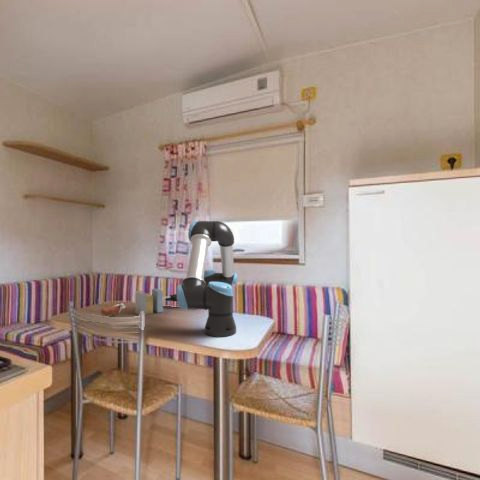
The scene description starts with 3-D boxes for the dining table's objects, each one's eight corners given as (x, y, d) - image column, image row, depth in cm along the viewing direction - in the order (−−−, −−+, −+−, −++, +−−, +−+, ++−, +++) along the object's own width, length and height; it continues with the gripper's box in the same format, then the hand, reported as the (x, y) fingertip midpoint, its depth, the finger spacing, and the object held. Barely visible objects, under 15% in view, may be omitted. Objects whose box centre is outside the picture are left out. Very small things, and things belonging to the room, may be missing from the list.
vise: (162, 309, 181) (162, 288, 180) (169, 313, 172) (169, 291, 171) (134, 313, 171) (134, 291, 171) (139, 318, 162) (139, 294, 162)
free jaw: (156, 308, 178) (156, 288, 178) (162, 311, 170) (162, 291, 169) (151, 308, 176) (151, 288, 176) (157, 312, 168) (157, 291, 168)
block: (148, 310, 174) (148, 293, 174) (152, 313, 168) (152, 295, 167) (141, 311, 172) (141, 294, 172) (145, 314, 165) (145, 296, 165)
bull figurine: (126, 317, 163) (126, 303, 163) (102, 323, 153) (102, 307, 153) (123, 316, 166) (123, 301, 166) (98, 321, 156) (98, 306, 156)
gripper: (200, 303, 182) (163, 308, 169) (191, 299, 193) (156, 303, 180) (200, 291, 182) (163, 295, 169) (191, 287, 193) (156, 291, 180)
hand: (159, 299), depth 174 cm, fingers closed
